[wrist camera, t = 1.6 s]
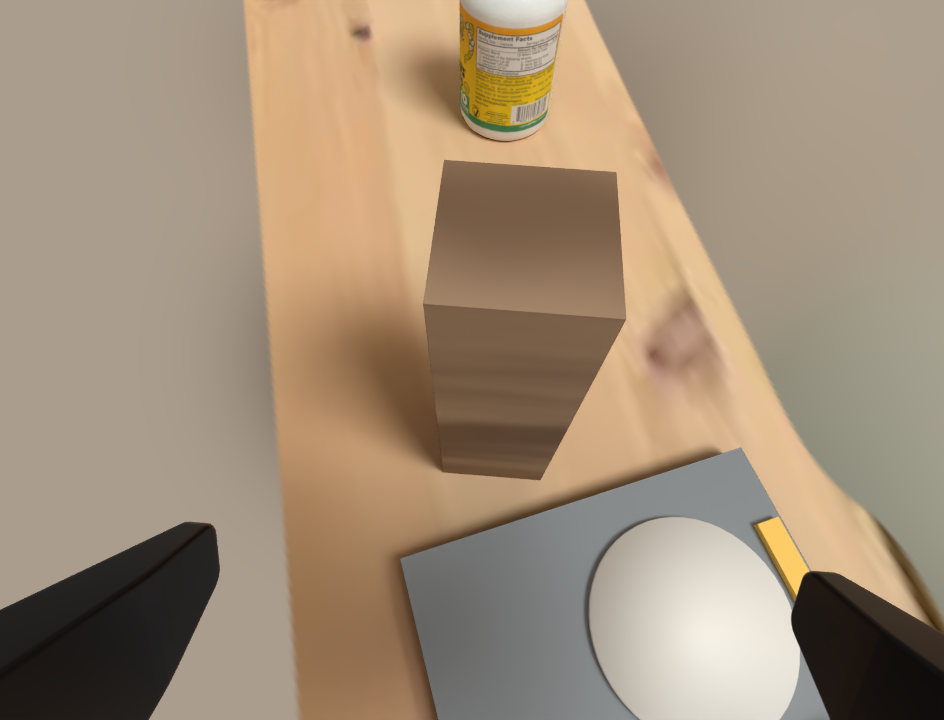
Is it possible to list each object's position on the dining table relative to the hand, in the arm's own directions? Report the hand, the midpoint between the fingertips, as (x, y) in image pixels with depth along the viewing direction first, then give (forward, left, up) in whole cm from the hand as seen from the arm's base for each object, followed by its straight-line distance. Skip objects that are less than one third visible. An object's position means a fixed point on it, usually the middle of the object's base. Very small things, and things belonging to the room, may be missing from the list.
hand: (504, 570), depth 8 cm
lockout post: (+6, -3, -13) cm, 14 cm away
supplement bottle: (+25, -10, -13) cm, 30 cm away
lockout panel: (-4, -5, -13) cm, 14 cm away
